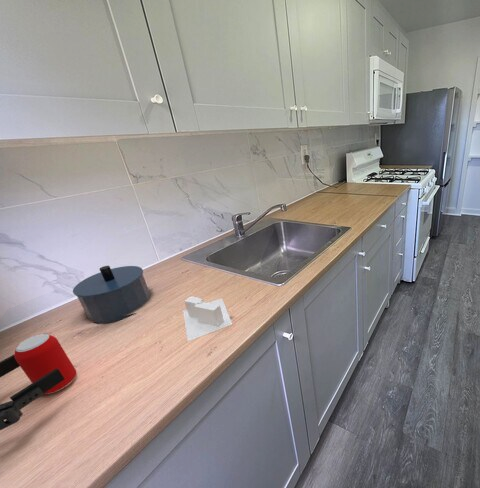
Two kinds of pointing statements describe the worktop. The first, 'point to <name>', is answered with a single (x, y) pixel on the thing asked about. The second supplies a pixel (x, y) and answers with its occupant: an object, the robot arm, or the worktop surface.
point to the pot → (116, 303)
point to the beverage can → (44, 359)
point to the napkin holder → (204, 317)
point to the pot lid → (107, 281)
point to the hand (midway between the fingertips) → (43, 363)
